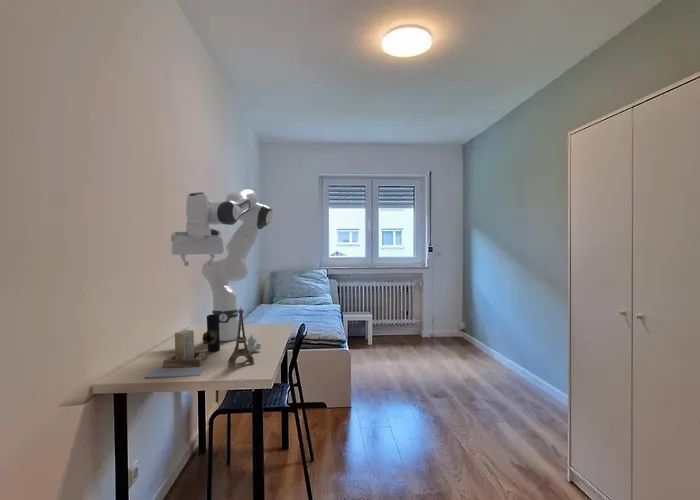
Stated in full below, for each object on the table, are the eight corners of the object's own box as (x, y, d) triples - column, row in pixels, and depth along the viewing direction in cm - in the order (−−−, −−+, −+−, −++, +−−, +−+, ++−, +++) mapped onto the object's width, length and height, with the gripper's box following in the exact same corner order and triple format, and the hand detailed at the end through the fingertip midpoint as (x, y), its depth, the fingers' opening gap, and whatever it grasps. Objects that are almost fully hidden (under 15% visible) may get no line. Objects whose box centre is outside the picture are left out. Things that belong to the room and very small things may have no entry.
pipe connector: (215, 356, 185) (214, 321, 183) (202, 357, 184) (200, 321, 183) (221, 347, 196) (220, 314, 194) (209, 348, 196) (207, 314, 194)
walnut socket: (173, 359, 179) (172, 352, 179) (206, 357, 181) (206, 351, 181) (163, 368, 166) (163, 361, 166) (199, 366, 168) (199, 360, 168)
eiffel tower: (227, 368, 165) (226, 301, 165) (227, 361, 175) (226, 297, 175) (256, 366, 168) (255, 300, 167) (254, 359, 178) (254, 296, 178)
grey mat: (154, 370, 164) (154, 368, 164) (205, 368, 166) (205, 366, 166) (144, 378, 154) (144, 377, 154) (199, 376, 156) (199, 374, 156)
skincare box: (185, 360, 177) (185, 329, 177) (194, 361, 176) (194, 330, 176) (174, 364, 171) (174, 332, 171) (184, 365, 170) (183, 333, 170)
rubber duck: (245, 351, 191) (245, 332, 191) (261, 350, 193) (261, 332, 192) (244, 354, 186) (244, 335, 186) (261, 353, 187) (260, 334, 187)
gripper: (172, 231, 175) (173, 266, 175) (224, 231, 186) (224, 265, 186) (169, 231, 180) (169, 266, 180) (219, 232, 191) (220, 264, 191)
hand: (198, 265), depth 183 cm, fingers open, 8 cm apart
